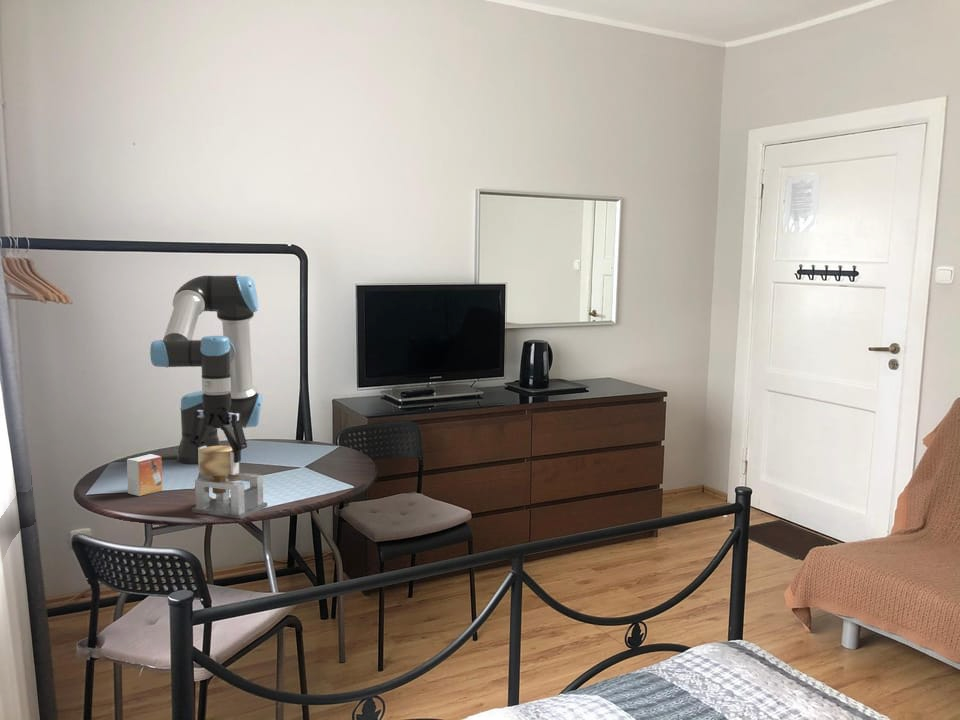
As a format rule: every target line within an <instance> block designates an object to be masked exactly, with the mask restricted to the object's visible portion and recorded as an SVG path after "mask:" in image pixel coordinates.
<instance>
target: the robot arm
mask: <svg viewBox="0 0 960 720" xmlns="http://www.w3.org/2000/svg"><path fill="white" fill-rule="evenodd" d="M257 293H258V291H257V287H256V284H255V282H254V280H253V278H252V277H250V276H246V275H238V274H237V275H200V276H197V277H195V278H194V277H193V278H192V279H190V280H188V281H187V282H185V283H183V284H182V285H181V286H180V287H179V289H177V291H176V292H175V294H174V296H173V299H172V307H173V310H172V311H171V315H170V317H169V321H168V324H167V327H166V330H165V332H164V336H163V337H162V339H158V340H157V339H156V340H154V341H152V342H151V344H150V348H149V349H150V353H149V355H150V361H151V364H152V366H154V367H158V368H160V367H161V368H180V367H181V368H183V367H184V368H185V367H186V368H187V367H201V389H202V390H198V391H193V392H190V393H186V394H184V395H183V396H182V397H181V399H180V409H179V410H180V420H181V421H180V422H181V423H180V424H181V439H180V443H179V445H178V450H177V453H176V459H177V461H178V462H179V463H183V464H199V450H200V449H202V448H206V447H211V446H222V444H221V441H220V438H219V435H218V429H220V430H222V431H223V434H224V436H225V438H226V439H227V442H228V444H229V446H231V448H232V451H230V466H231V475H235V474H237V473H239V472H240V462H241V461H242V450H244V449H246V448H248V443H247V439H246V436H245V432H244V429H246V428H256V427H257V426H259V423H260V416H261V409H262V397H263V395H262V393H258V389H257V387H256V386H254V385H253V374H252V373H253V371H252V368H253V367H252V354H251V352H252V351H251V350H252V349H251V332H250V331H251V329H250V321H251V319H253V317H254V315H255V314H254V313H256V312H258V310H259V303H258V302H259V301H258V295H257ZM203 312H214V313H215V312H216V317H217V319H218V320H220V321H221V322H222V323H221V324H222V335H207V336H203V337H202V338H201V339H196V340H195V339H193V337H194V333H195V330H196V326H197V323H198V319H199V316H200V315H201V314H202V313H203ZM198 471H199V472H200V468H199V467H198Z"/></svg>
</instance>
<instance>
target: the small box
mask: <svg viewBox="0 0 960 720" xmlns="http://www.w3.org/2000/svg"><path fill="white" fill-rule="evenodd" d="M162 461H163V460H162V456H161V455H156V454H154V453H153V454H151V453H149V454H145V455H141V456H137V457H132V458H127V459H126V471H127V473H126V475H127V494H130V495H134V496H138V497H141V496H144V495H149V494H153V493H157V492H161V491H163V467H162V465H163V462H162Z"/></svg>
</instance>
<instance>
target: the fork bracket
mask: <svg viewBox="0 0 960 720" xmlns="http://www.w3.org/2000/svg"><path fill="white" fill-rule="evenodd" d="M230 480H233V481H230ZM238 481H239V482H238ZM240 481H241V482H240ZM244 482H249V488H247V489H245V483H244ZM194 484H195V485H194V486H195V488H194V489H195V506H194V507H192V508H191V512H192V513H196V514H202V515H203V514H204V515H210V516H217V517H224V518H230V519H231V518H232V519H238V520H242V519H244V518H246V517H248V516H250V515H253V514H255V513H256V512H259V511H261V510H263V509H264V508H266V507H268V502H264V480H263V474H258V473H257V474H256V473H248V472H247V473H246V472H240V471H239V473H237V474H235V475H231V474H227V475H226V481H223V480H216V479H212V478H206V477H200V478H197V479H195V480H194ZM210 488H219V489H226V492H225V493H222V494H215V498H213V499H211V500H210Z"/></svg>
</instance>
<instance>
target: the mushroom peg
mask: <svg viewBox="0 0 960 720" xmlns="http://www.w3.org/2000/svg"><path fill="white" fill-rule="evenodd" d="M230 451H232V448H231V446H230V445H221V446H211V447H206V448H202V449H200V450H199V463H198V469H199V468H200V471H199V474H200V475H203V476H208V477H209V476H210V477H211V479H216V480H223V481H226V475H227V474H231V466H230ZM211 488H212V487H211ZM225 492H226V489H219V488H212V494H215V495H216V494H222V493H225Z"/></svg>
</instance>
